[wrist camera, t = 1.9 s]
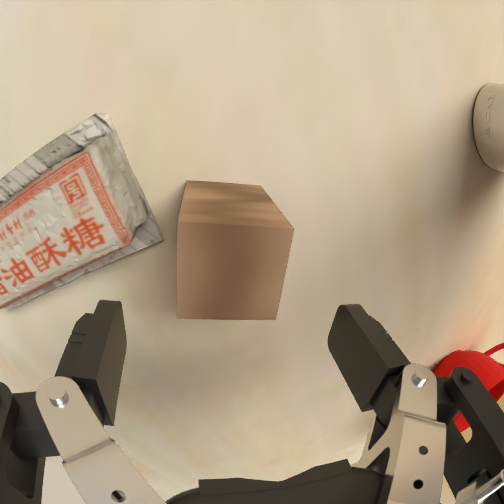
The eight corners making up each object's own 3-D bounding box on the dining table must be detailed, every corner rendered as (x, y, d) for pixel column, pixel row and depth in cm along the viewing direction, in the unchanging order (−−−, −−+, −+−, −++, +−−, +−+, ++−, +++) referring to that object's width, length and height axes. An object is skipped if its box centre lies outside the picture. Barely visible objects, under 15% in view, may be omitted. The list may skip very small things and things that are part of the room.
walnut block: (260, 185, 20) (294, 228, 13) (251, 251, 22) (275, 319, 15) (187, 180, 19) (177, 221, 12) (183, 248, 21) (176, 318, 14)
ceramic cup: (494, 336, 37) (526, 371, 28) (425, 401, 40) (450, 442, 31) (488, 300, 31) (532, 341, 23) (403, 381, 35) (436, 433, 26)
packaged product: (84, 106, 12) (158, 265, 17) (110, 107, 16) (166, 233, 21) (-69, 238, 12) (-9, 336, 17) (-38, 217, 17) (12, 304, 21)
